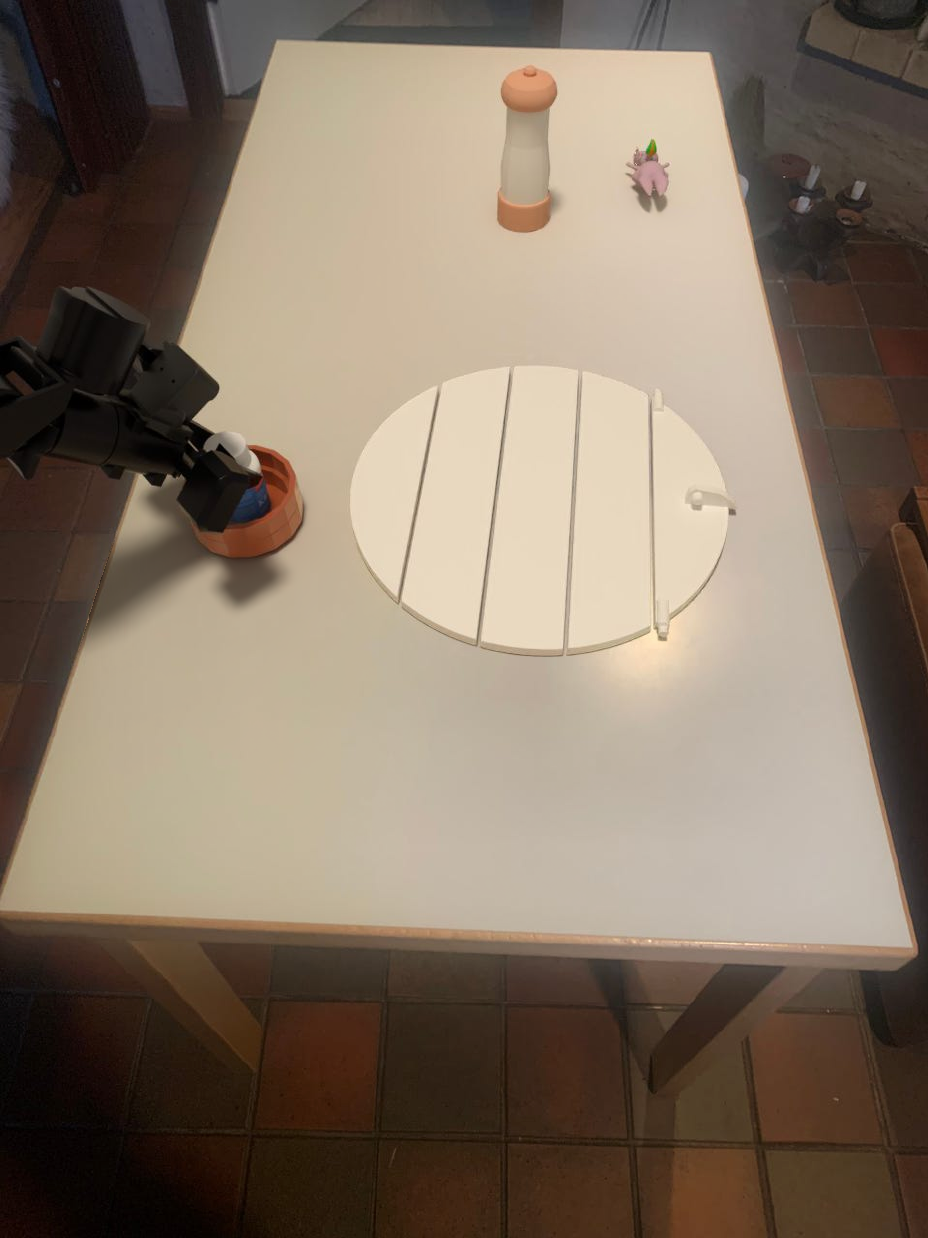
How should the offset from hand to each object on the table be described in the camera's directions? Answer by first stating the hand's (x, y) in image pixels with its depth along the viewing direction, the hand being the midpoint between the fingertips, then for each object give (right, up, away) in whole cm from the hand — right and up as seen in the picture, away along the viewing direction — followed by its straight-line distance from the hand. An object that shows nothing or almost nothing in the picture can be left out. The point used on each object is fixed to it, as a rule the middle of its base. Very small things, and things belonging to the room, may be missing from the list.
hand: (244, 463), depth 82 cm
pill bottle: (-1, -5, +5) cm, 7 cm away
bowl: (-1, -5, +6) cm, 7 cm away
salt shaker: (+30, +41, +36) cm, 62 cm away
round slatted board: (+30, -2, +7) cm, 30 cm away
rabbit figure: (+48, +48, +40) cm, 79 cm away
